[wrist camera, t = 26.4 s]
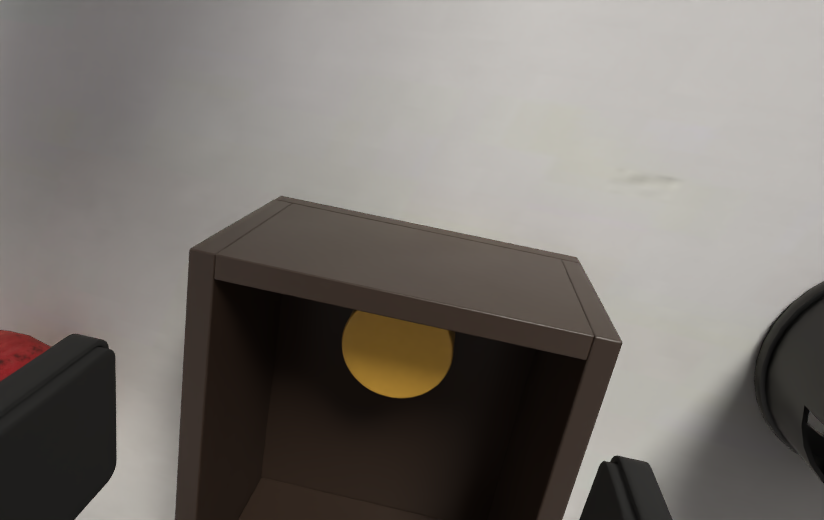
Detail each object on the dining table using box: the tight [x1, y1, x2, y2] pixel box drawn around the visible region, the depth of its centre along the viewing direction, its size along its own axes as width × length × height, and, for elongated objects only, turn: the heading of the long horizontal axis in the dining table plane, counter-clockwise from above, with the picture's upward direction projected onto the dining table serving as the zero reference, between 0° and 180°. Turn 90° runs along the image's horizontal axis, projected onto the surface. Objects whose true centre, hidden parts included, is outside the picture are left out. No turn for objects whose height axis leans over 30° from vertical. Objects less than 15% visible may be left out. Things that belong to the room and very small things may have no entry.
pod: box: [342, 310, 456, 398], centre depth 22 cm, size 4×4×4 cm
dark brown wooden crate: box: [175, 196, 622, 520], centre depth 22 cm, size 15×13×8 cm
